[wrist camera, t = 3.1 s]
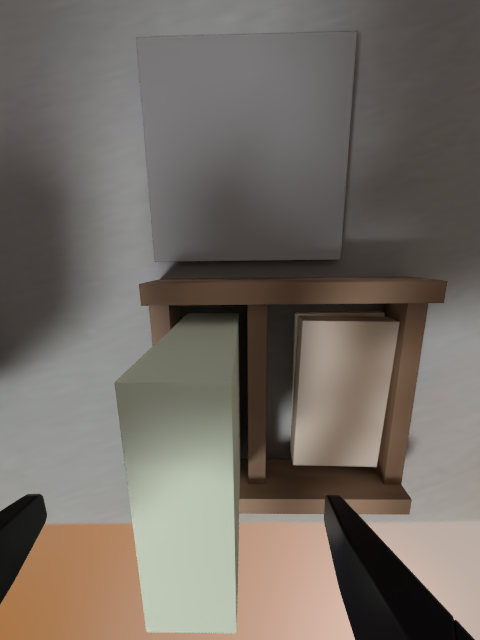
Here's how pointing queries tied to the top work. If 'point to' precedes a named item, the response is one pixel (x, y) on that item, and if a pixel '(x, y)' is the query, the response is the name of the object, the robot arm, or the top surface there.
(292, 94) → the mat
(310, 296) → the rack
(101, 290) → the top surface
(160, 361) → the pale green square slab
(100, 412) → the top surface
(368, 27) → the top surface
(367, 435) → the upper offcut
